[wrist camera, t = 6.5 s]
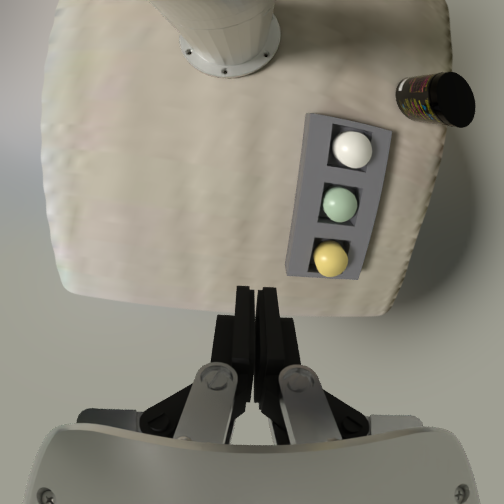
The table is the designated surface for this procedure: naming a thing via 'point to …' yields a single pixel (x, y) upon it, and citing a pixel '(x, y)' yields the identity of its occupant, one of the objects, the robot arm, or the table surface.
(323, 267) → the mustard button
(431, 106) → the supplement container
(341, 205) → the green button
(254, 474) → the robot arm
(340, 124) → the button panel
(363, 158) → the white button
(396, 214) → the table surface
